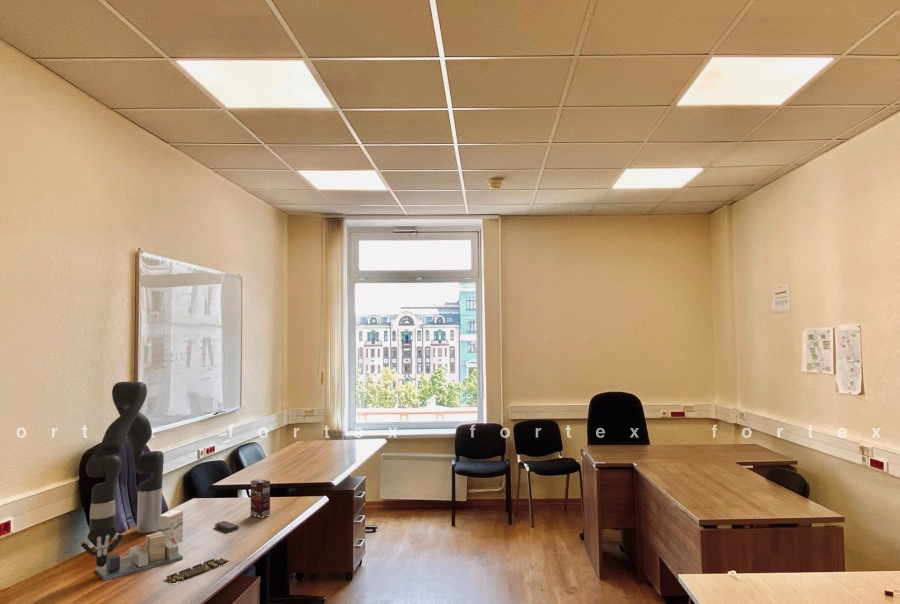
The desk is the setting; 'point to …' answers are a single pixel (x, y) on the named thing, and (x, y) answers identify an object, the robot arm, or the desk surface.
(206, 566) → the keyboard
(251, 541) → the desk surface
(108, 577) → the vise base
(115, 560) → the free jaw
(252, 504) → the supplement box
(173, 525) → the ink box
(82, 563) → the desk surface
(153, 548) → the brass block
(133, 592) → the desk surface
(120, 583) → the desk surface
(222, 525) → the usb drive
